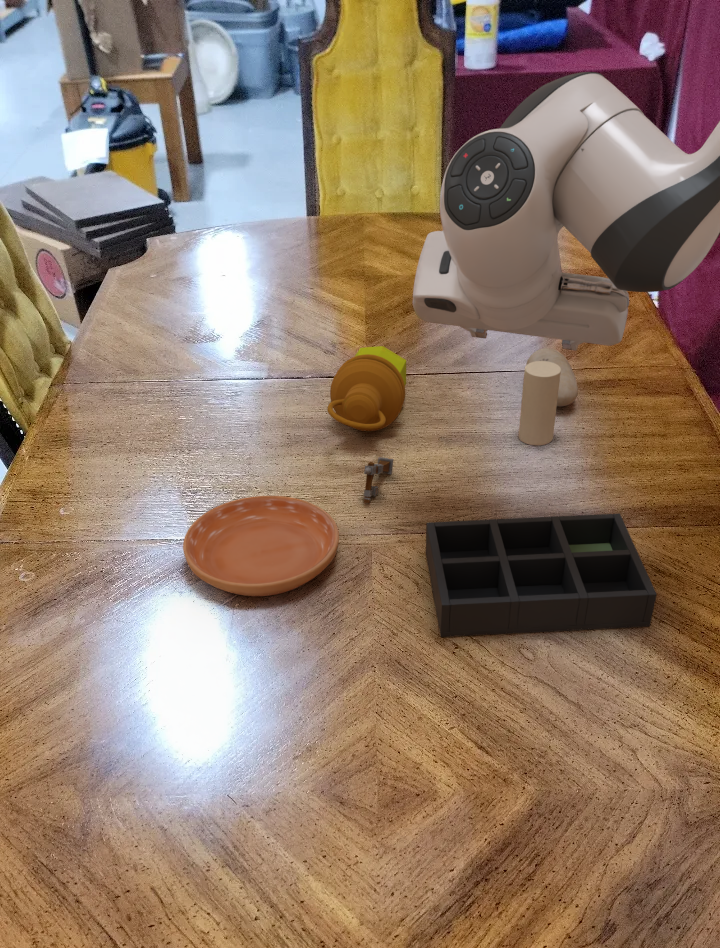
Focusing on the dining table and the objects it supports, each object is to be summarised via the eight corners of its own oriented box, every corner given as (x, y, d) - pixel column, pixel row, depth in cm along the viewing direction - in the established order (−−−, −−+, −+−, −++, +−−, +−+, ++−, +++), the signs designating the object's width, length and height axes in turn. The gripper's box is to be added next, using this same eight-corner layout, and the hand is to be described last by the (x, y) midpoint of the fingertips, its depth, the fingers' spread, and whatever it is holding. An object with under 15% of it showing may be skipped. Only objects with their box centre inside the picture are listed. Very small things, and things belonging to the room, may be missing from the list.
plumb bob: (345, 379, 136) (306, 450, 115) (360, 315, 131) (322, 377, 110) (408, 398, 136) (380, 472, 115) (426, 334, 131) (400, 400, 110)
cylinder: (549, 428, 124) (556, 360, 118) (556, 444, 120) (564, 375, 114) (515, 429, 123) (521, 361, 118) (521, 446, 120) (528, 377, 114)
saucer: (228, 627, 95) (225, 603, 93) (162, 547, 106) (157, 524, 104) (368, 572, 101) (368, 548, 100) (293, 502, 112) (291, 479, 110)
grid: (614, 544, 104) (620, 513, 102) (650, 626, 94) (657, 594, 92) (425, 553, 104) (426, 522, 101) (440, 637, 94) (441, 605, 91)
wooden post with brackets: (356, 502, 110) (360, 462, 108) (374, 493, 117) (378, 455, 116) (371, 505, 109) (376, 464, 108) (389, 495, 117) (393, 457, 115)
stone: (545, 401, 123) (510, 338, 129) (550, 433, 128) (516, 371, 135) (589, 383, 123) (552, 320, 129) (592, 415, 128) (556, 354, 134)
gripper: (637, 253, 85) (635, 319, 99) (411, 230, 91) (438, 295, 104) (621, 323, 85) (621, 380, 98) (395, 296, 91) (424, 353, 104)
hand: (525, 336), depth 101 cm, fingers open, 8 cm apart
